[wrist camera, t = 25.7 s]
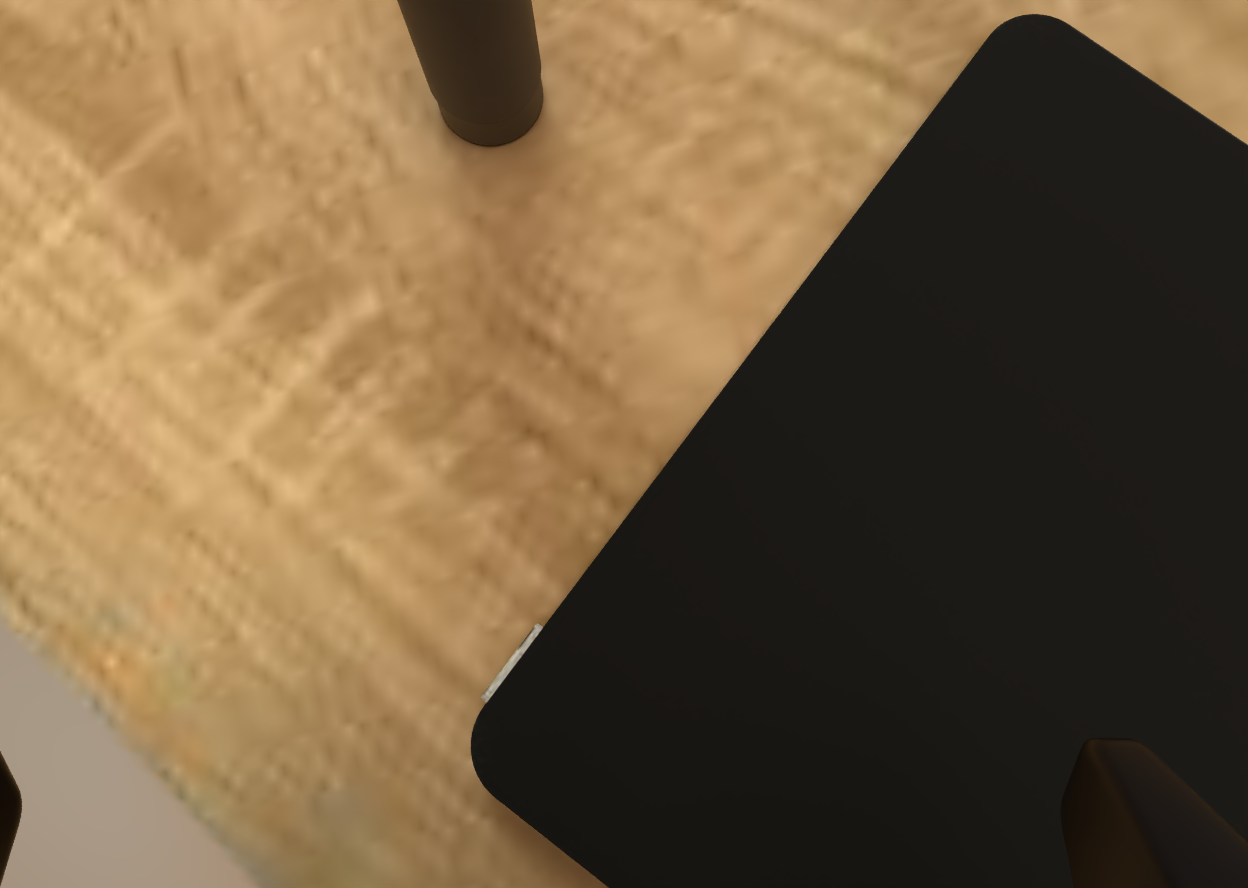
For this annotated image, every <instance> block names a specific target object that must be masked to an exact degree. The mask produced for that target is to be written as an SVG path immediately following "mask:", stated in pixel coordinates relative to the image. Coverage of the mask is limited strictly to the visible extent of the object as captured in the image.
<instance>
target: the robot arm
mask: <svg viewBox="0 0 1248 888" xmlns="http://www.w3.org/2000/svg"><path fill="white" fill-rule="evenodd" d="M21 812H22V799H21V794H20V790H19V788H18V786H17V784H16V782H15V780H14V778H13V776H12V774H11V772H10V770H9V768H8V766H7V764H6V762H5V760H4V758H3V756H2V754H1V752H0V885H1V882H2V879H3V875H4V872H5V869H6V866H7V862H8V859H9V856H10V852H11V849H12V846H13V843H14V839H15V836H16V833H17V829H18V826H19V822H20V818H21ZM1061 825H1062V831H1063V836H1064V840H1065V845H1066V850H1067V855H1068V859H1069V864H1070V869H1071V874H1072V879H1073V883H1074V888H1248V842H1247V841H1246V840H1245V839H1244V838H1243V837H1242V836H1241V835H1240V834H1239V833H1238V832H1236V831H1235V830H1234V829H1233V828H1232V827H1231V826H1230V825H1229V824H1228V823H1227V822H1226V821H1225V820H1224V819H1223V818H1222V817H1221V816H1220V815H1219V814H1218V813H1217V812H1216V811H1214V810H1213V809H1212V808H1211V807H1210V806H1209V805H1208V804H1207V803H1206V802H1205V801H1204V800H1203V799H1202V798H1201V797H1200V796H1199V795H1198V794H1197V793H1196V792H1195V791H1193V790H1192V789H1191V788H1190V787H1189V786H1188V785H1187V784H1186V783H1185V782H1184V781H1183V780H1182V779H1181V778H1180V777H1179V776H1178V775H1177V774H1176V773H1175V772H1174V771H1173V770H1171V769H1170V768H1169V767H1168V766H1167V765H1166V764H1165V763H1164V762H1163V761H1162V760H1161V759H1160V758H1159V757H1158V756H1157V755H1156V754H1155V753H1154V752H1153V751H1152V750H1150V749H1149V748H1148V747H1147V746H1146V745H1145V744H1143V743H1141V742H1140V741H1138V740H1135V739H1131V738H1091V739H1089V740H1087V741H1086V742H1085V743H1084V744H1083V745H1082V747H1081V749H1080V751H1079V754H1078V757H1077V759H1076V762H1075V765H1074V767H1073V770H1072V773H1071V776H1070V778H1069V781H1068V784H1067V786H1066V789H1065V792H1064V794H1063V798H1062V802H1061Z"/></svg>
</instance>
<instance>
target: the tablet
mask: <svg viewBox="0 0 1248 888" xmlns="http://www.w3.org/2000/svg"><path fill="white" fill-rule="evenodd" d="M481 699H482V700H483V701H484V702H486V704H485V705H484V707H483V708H482V710H481V711H480V713H479V715H478V717H477V719H476V722H475V724H474V728H473V732H472V737H471V755H472V761H473V765H474V768H475V771H476V773H477V775H478V777H479V779H480V781H481V782H482V784H483V785H484V787H485V788H486V789H487V790H488V791H489V793H491V794H492V795H493V796H494V797H495V798H496V799H497V800H499V801H500V802H501V803H503V804H504V805H505V806H506V807H508V808H509V809H510V810H511V811H513V812H514V813H515V814H516V815H518V816H519V817H520V818H522V819H523V820H524V821H525V822H527V823H528V824H529V825H530V826H532V827H533V828H534V829H535V830H537V831H538V832H539V833H541V834H542V835H543V836H544V837H546V838H547V839H548V840H549V841H551V842H552V843H553V844H554V845H556V846H557V847H558V848H560V849H561V850H562V851H563V852H565V853H566V854H567V855H568V856H570V857H571V858H572V859H573V860H575V861H576V862H577V863H579V864H580V865H581V866H582V867H584V868H585V869H586V870H587V871H589V872H590V873H591V874H592V875H594V876H595V877H596V878H598V879H599V880H600V881H601V882H603V883H604V884H605V885H606V886H608V887H609V888H1074V883H1073V879H1072V874H1071V869H1070V864H1069V859H1068V855H1067V850H1066V845H1065V840H1064V836H1063V831H1062V825H1061V802H1062V798H1063V794H1064V792H1065V789H1066V786H1067V784H1068V781H1069V778H1070V776H1071V773H1072V770H1073V767H1074V765H1075V762H1076V759H1077V757H1078V754H1079V751H1080V749H1081V747H1082V745H1083V744H1084V743H1085V742H1086V741H1087V740H1089V739H1091V738H1131V739H1135V740H1138V741H1140V742H1141V743H1143V744H1145V745H1146V746H1147V747H1148V748H1149V749H1150V750H1152V751H1153V752H1154V753H1155V754H1156V755H1157V756H1158V757H1159V758H1160V759H1161V760H1162V761H1163V762H1164V763H1165V764H1166V765H1167V766H1168V767H1169V768H1170V769H1171V770H1173V771H1174V772H1175V773H1176V774H1177V775H1178V776H1179V777H1180V778H1181V779H1182V780H1183V781H1184V782H1185V783H1186V784H1187V785H1188V786H1189V787H1190V788H1191V789H1192V790H1193V791H1195V792H1196V793H1197V794H1198V795H1199V796H1200V797H1201V798H1202V799H1203V800H1204V801H1205V802H1206V803H1207V804H1208V805H1209V806H1210V807H1211V808H1212V809H1213V810H1214V811H1216V812H1217V813H1218V814H1219V815H1220V816H1221V817H1222V818H1223V819H1224V820H1225V821H1226V822H1227V823H1228V824H1229V825H1230V826H1231V827H1232V828H1233V829H1234V830H1235V831H1236V832H1238V833H1239V834H1240V835H1241V836H1242V837H1243V838H1244V839H1245V840H1246V841H1247V842H1248V145H1247V144H1246V143H1244V142H1243V141H1241V140H1240V139H1238V138H1237V137H1235V136H1234V135H1232V134H1231V133H1229V132H1228V131H1226V130H1225V129H1223V128H1222V127H1220V126H1219V125H1217V124H1216V123H1214V122H1213V121H1211V120H1210V119H1208V118H1207V117H1206V116H1204V115H1203V114H1201V113H1200V112H1198V111H1197V110H1195V109H1194V108H1192V107H1191V106H1189V105H1188V104H1186V103H1185V102H1183V101H1182V100H1180V99H1179V98H1177V97H1176V96H1174V95H1173V94H1171V93H1170V92H1168V91H1167V90H1165V89H1164V88H1162V87H1161V86H1160V85H1158V84H1157V83H1155V82H1154V81H1152V80H1151V79H1149V78H1148V77H1146V76H1145V75H1143V74H1142V73H1140V72H1139V71H1137V70H1136V69H1134V68H1133V67H1131V66H1130V65H1128V64H1127V63H1125V62H1124V61H1122V60H1121V59H1119V58H1118V57H1116V56H1115V55H1114V54H1112V53H1111V52H1109V51H1108V50H1106V49H1105V48H1103V47H1102V46H1100V45H1099V44H1097V43H1096V42H1094V41H1093V40H1091V39H1090V38H1088V37H1087V36H1085V35H1084V34H1082V33H1081V32H1079V31H1078V30H1076V29H1075V28H1073V27H1072V26H1071V25H1069V24H1067V23H1066V22H1064V21H1062V20H1059V19H1057V18H1054V17H1051V16H1047V15H1039V14H1029V15H1022V16H1018V17H1015V18H1012V19H1010V20H1008V21H1006V22H1004V23H1003V24H1001V25H1000V26H998V27H997V28H996V29H995V30H994V31H993V32H992V33H991V34H990V36H989V37H988V38H987V40H986V41H985V42H984V44H983V45H982V46H981V48H980V49H979V50H978V52H977V53H976V54H975V56H974V57H973V58H972V60H971V61H970V62H969V63H968V65H967V66H966V67H965V69H964V70H963V71H962V73H961V74H960V75H959V77H958V78H957V79H956V81H955V82H954V83H953V85H952V86H951V87H950V89H949V90H948V91H947V93H946V94H945V95H944V97H943V98H942V99H941V101H940V102H939V103H938V105H937V106H936V107H935V109H934V110H933V111H932V113H931V114H930V115H929V117H928V118H927V119H926V121H925V122H924V123H923V125H922V126H921V127H920V128H919V130H918V131H917V132H916V134H915V135H914V136H913V138H912V139H911V140H910V142H909V143H908V144H907V146H906V147H905V148H904V150H903V151H902V152H901V154H900V155H899V156H898V158H897V159H896V160H895V162H894V163H893V164H892V166H891V167H890V168H889V170H888V171H887V172H886V174H885V175H884V176H883V178H882V179H881V180H880V182H879V183H878V184H877V186H876V187H875V188H874V189H873V191H872V192H871V193H870V195H869V196H868V197H867V199H866V200H865V201H864V203H863V204H862V205H861V207H860V208H859V209H858V211H857V212H856V213H855V215H854V216H853V217H852V219H851V220H850V221H849V223H848V224H847V225H846V227H845V228H844V229H843V231H842V232H841V233H840V235H839V236H838V237H837V239H836V240H835V241H834V243H833V244H832V245H831V247H830V248H829V249H828V250H827V252H826V253H825V254H824V256H823V257H822V258H821V260H820V261H819V262H818V264H817V265H816V266H815V268H814V269H813V270H812V272H811V273H810V274H809V276H808V277H807V278H806V280H805V281H804V282H803V284H802V285H801V286H800V288H799V289H798V290H797V292H796V293H795V294H794V296H793V297H792V298H791V300H790V301H789V302H788V304H787V305H786V306H785V308H784V309H783V310H782V311H781V313H780V314H779V315H778V317H777V318H776V319H775V321H774V322H773V323H772V325H771V326H770V327H769V329H768V330H767V331H766V333H765V334H764V335H763V337H762V338H761V339H760V341H759V342H758V343H757V345H756V346H755V347H754V349H753V350H752V351H751V353H750V354H749V355H748V357H747V358H746V359H745V361H744V362H743V363H742V365H741V366H740V367H739V369H738V370H737V371H736V372H735V374H734V375H733V376H732V378H731V379H730V380H729V382H728V383H727V384H726V386H725V387H724V388H723V390H722V391H721V392H720V394H719V395H718V396H717V398H716V399H715V400H714V402H713V403H712V404H711V406H710V407H709V408H708V410H707V411H706V412H705V414H704V415H703V416H702V418H701V419H700V420H699V422H698V423H697V424H696V426H695V427H694V428H693V430H692V431H691V432H690V433H689V435H688V436H687V437H686V439H685V440H684V441H683V443H682V444H681V445H680V447H679V448H678V449H677V451H676V452H675V453H674V455H673V456H672V457H671V459H670V460H669V461H668V463H667V464H666V465H665V467H664V468H663V469H662V471H661V472H660V473H659V475H658V476H657V477H656V479H655V480H654V481H653V483H652V484H651V485H650V487H649V488H648V489H647V491H646V492H645V493H644V494H643V496H642V497H641V498H640V500H639V501H638V502H637V504H636V505H635V506H634V508H633V509H632V510H631V512H630V513H629V514H628V516H627V517H626V518H625V520H624V521H623V522H622V524H621V525H620V526H619V528H618V529H617V530H616V532H615V533H614V534H613V536H612V537H611V538H610V540H609V541H608V542H607V544H606V545H605V546H604V548H603V549H602V550H601V552H600V553H599V554H598V556H597V557H596V558H595V559H594V561H593V562H592V563H591V565H590V566H589V567H588V569H587V570H586V571H585V573H584V574H583V575H582V577H581V578H580V579H579V581H578V582H577V583H576V585H575V586H574V587H573V589H572V590H571V591H570V593H569V594H568V595H567V597H566V598H565V599H564V601H563V602H562V603H561V605H560V606H559V607H558V609H557V610H556V611H555V613H554V614H553V615H552V617H551V618H550V619H549V620H548V622H547V623H546V624H545V626H544V627H542V626H541V625H540V624H538V623H537V624H536V625H535V627H534V628H533V629H532V630H531V632H530V633H529V634H528V636H527V637H526V638H525V640H524V641H523V642H522V644H521V645H520V646H519V648H518V649H517V650H516V652H515V653H514V654H513V656H512V657H511V658H510V660H509V661H508V662H507V664H506V665H505V666H504V668H503V669H502V670H501V672H500V673H499V674H498V675H497V677H496V678H495V679H494V681H493V682H492V683H491V685H490V686H489V687H488V689H487V690H486V691H485V693H484V694H483V695H482V697H481Z"/></svg>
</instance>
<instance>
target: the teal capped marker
mask: <svg viewBox="0 0 1248 888" xmlns="http://www.w3.org/2000/svg"><path fill="white" fill-rule="evenodd" d="M397 1H398V3H399V6H400V9H401V12H402V14H403V17H404V20H405V22H406V25H407V28H408V31H409V33H410V36H411V39H412V41H413V44H414V47H415V49H416V52H417V55H418V58H419V60H420V63H421V66H422V68H423V71H424V74H425V77H426V79H427V82H428V85H429V87H430V90H431V92H432V94H433V96H434V98H435V99H436V100H437V102H438V105H439V108H440V111H441V113H442V116H443V118H444V120H445V121H446V123H447V124H448V126H449V127H450V128H451V129H452V130H453V131H454V132H455V133H456V134H457V135H459V136H460V137H462V138H463V139H465V140H468V141H470V142H473V143H476V144H481V145H499V144H504V143H507V142H510V141H512V140H515V139H517V138H518V137H520V136H521V135H523V134H524V133H525V132H526V131H527V130H528V129H529V128H530V127H531V126H532V125H533V124H534V122H535V121H536V119H537V117H538V115H539V113H540V110H541V107H542V103H543V88H542V82H541V60H540V54H539V47H538V41H537V34H536V28H535V21H534V15H533V8H532V2H531V0H397Z"/></svg>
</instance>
